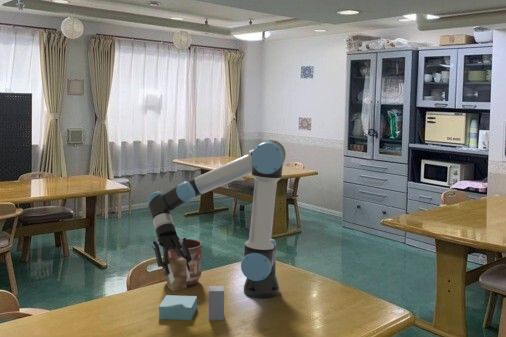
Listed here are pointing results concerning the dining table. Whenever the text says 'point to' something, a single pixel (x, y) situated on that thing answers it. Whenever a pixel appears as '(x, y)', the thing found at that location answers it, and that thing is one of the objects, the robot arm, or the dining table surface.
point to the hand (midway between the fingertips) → (180, 280)
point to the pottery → (195, 262)
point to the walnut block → (177, 273)
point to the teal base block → (178, 307)
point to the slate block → (216, 302)
